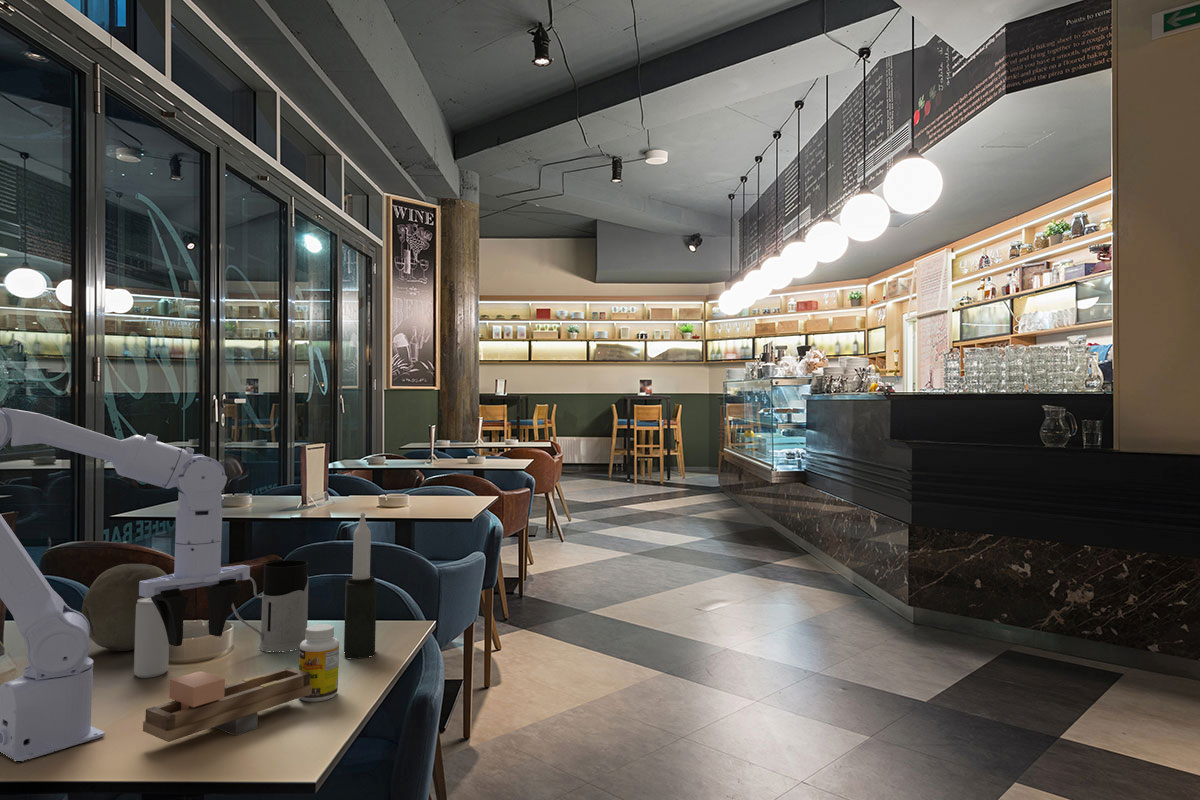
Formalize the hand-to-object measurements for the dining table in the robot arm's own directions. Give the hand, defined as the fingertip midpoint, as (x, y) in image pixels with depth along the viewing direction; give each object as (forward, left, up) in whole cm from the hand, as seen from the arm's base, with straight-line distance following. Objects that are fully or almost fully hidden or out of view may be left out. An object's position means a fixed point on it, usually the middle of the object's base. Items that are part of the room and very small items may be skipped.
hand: (195, 639), depth 103 cm
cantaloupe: (+11, +41, -11) cm, 44 cm away
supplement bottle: (+14, -8, -11) cm, 19 cm away
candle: (+32, +4, -11) cm, 34 cm away
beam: (+1, -8, -10) cm, 13 cm away
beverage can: (+6, +23, -11) cm, 26 cm away
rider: (-4, -8, -7) cm, 11 cm away
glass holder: (+25, +20, -11) cm, 34 cm away
